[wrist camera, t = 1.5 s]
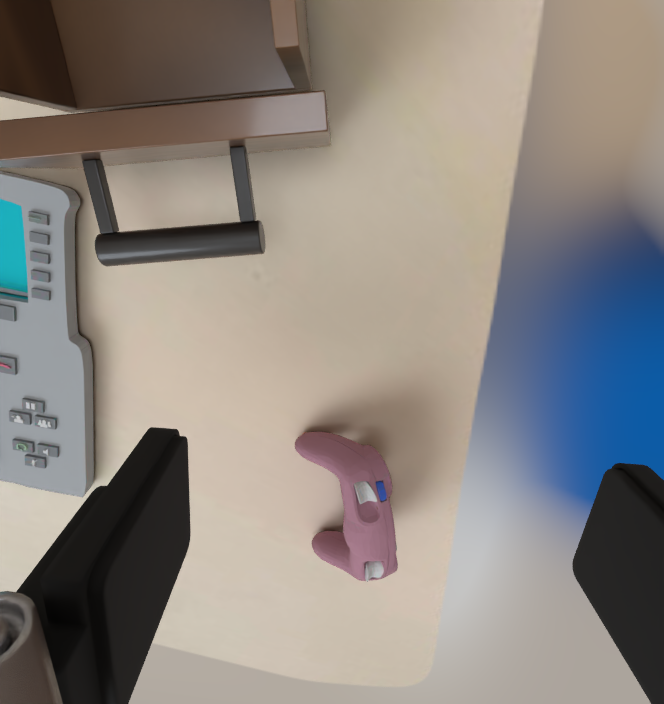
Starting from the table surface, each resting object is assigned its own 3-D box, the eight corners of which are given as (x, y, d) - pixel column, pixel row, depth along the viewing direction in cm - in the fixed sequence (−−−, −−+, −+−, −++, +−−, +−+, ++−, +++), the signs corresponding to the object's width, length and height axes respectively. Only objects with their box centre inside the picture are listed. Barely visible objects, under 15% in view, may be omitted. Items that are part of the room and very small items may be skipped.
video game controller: (362, 522, 35) (417, 588, 29) (308, 547, 33) (354, 622, 27) (349, 409, 32) (408, 458, 26) (288, 431, 30) (335, 488, 24)
